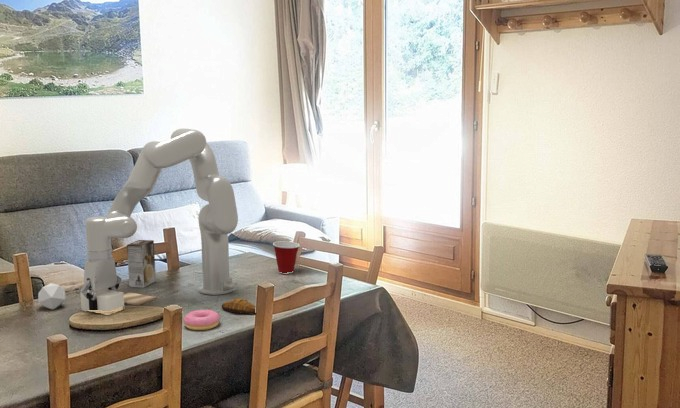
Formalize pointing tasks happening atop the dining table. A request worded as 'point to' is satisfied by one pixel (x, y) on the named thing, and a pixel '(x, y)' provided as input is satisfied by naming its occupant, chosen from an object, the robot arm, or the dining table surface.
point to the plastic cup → (286, 255)
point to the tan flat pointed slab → (137, 298)
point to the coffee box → (141, 263)
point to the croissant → (239, 306)
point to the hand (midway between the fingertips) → (102, 307)
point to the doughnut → (201, 319)
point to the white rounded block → (105, 300)
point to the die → (51, 296)
